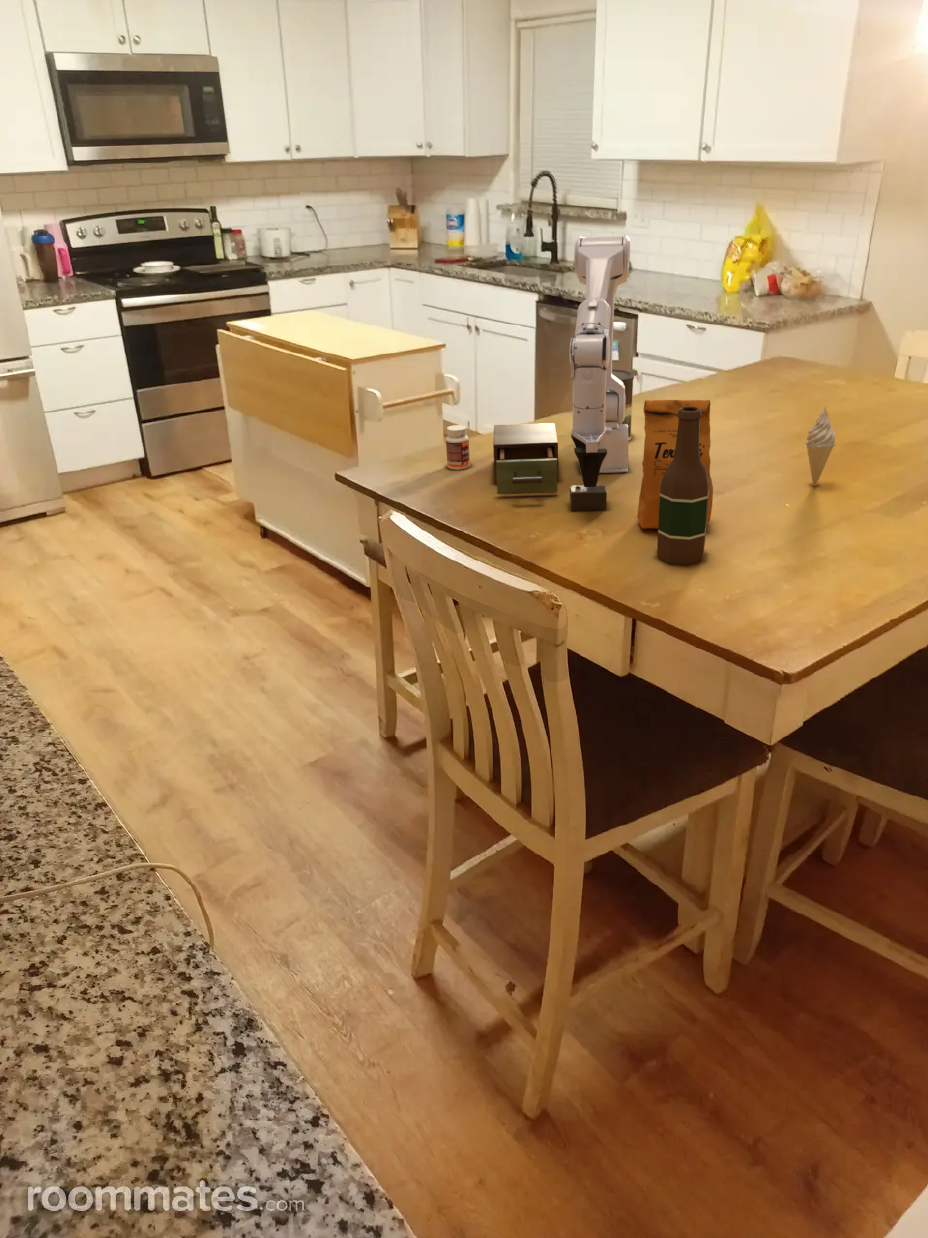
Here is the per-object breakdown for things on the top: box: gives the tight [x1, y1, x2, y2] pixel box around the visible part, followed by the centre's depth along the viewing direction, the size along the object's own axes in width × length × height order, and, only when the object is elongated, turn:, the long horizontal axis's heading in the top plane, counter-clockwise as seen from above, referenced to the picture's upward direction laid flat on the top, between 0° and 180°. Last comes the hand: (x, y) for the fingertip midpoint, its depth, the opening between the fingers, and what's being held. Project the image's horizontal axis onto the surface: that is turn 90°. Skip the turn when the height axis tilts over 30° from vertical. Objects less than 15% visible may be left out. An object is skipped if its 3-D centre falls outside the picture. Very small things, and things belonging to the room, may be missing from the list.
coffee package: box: [637, 399, 714, 530], centre depth 154 cm, size 10×12×22 cm
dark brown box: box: [569, 484, 608, 512], centre depth 168 cm, size 6×4×4 cm, turn 88°
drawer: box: [496, 446, 558, 495], centre depth 176 cm, size 17×11×6 cm, turn 178°
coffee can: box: [606, 368, 635, 441], centre depth 202 cm, size 10×10×14 cm
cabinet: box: [492, 422, 559, 485], centre depth 186 cm, size 14×13×8 cm
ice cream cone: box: [805, 406, 836, 487], centre depth 169 cm, size 5×5×15 cm
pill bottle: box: [445, 424, 471, 471], centre depth 191 cm, size 5×5×8 cm
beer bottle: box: [656, 406, 709, 566], centre depth 142 cm, size 8×8×24 cm
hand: (588, 479), depth 166 cm, fingers open, 7 cm apart
